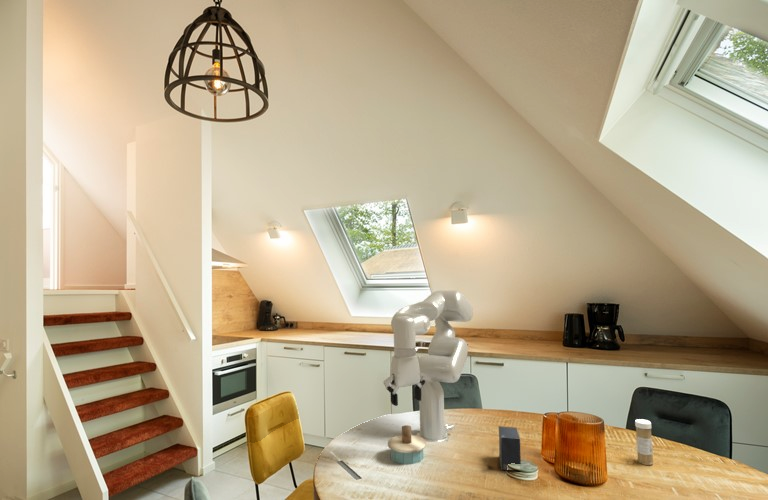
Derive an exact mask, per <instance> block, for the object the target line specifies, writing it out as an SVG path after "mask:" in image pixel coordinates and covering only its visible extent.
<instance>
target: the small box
mask: <svg viewBox="0 0 768 500" xmlns="http://www.w3.org/2000/svg"><path fill="white" fill-rule="evenodd" d="M498 436H499V437H498V443H499V444H498V445H499V446H498V447H499V452H498V454H499V456H498V457H499V465H500V470H501V471H508V470H507V465H508V464H511V463H515V464H522V458H521V455H522V454H521V438H520V435H519V432H518V427H513V426H512V427H511V426H510V427H509V426H499V425H498Z"/></svg>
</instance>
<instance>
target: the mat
mask: <svg viewBox="0 0 768 500" xmlns="http://www.w3.org/2000/svg"><path fill="white" fill-rule="evenodd" d="M336 463H337V464H338V465H340V466H341V468H342V469H344V470H345V471H346V472H348V474H349V475H351V476H352V477H353V478H354V479H355V480H356V481H357V480H360V479H362V477H361V476H360V475H359V474H358V473H357V472H356V471H354V470H353V469H352V468H351V467H350V466H349V465H348V464H346V463H345V462H344V460H342V459H341V460H337V461H336Z"/></svg>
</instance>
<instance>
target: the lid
mask: <svg viewBox="0 0 768 500" xmlns="http://www.w3.org/2000/svg"><path fill="white" fill-rule="evenodd" d="M387 447H388V448H389V449H390V451H391V450H394V451H397V452H402V453H412V452H418V451H421V450H423V451H424V449H425V448H426V447H427V441H425V440H424V439H423V438H421V437H419V436H416V435H413V434H412V426H411V425H408V424H407V425H406V424H405V425H402V427H401V435H396V436H392V437H390V438H389V439H388V441H387Z"/></svg>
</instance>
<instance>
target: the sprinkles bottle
mask: <svg viewBox="0 0 768 500" xmlns="http://www.w3.org/2000/svg"><path fill="white" fill-rule="evenodd" d="M634 425H635V433H636V434H635V436H636V450H637V452H636V453H637V462H638V463H639V464H642V465H646V466H652V465H654V459H653V458H654V457H653V455H654V454H653V437H652V422H651V421H650V420H648V419H643V418H641V419H640V418H639V419H638V418H636V419H635V421H634Z"/></svg>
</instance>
